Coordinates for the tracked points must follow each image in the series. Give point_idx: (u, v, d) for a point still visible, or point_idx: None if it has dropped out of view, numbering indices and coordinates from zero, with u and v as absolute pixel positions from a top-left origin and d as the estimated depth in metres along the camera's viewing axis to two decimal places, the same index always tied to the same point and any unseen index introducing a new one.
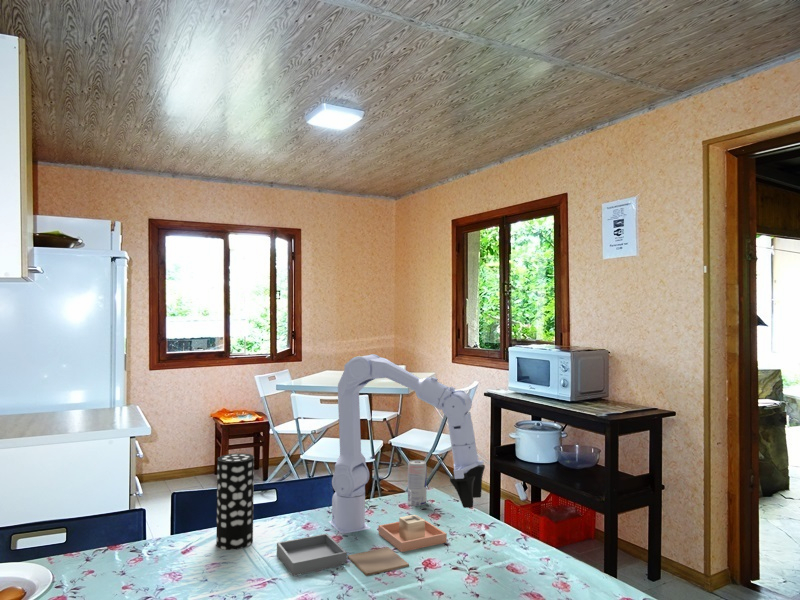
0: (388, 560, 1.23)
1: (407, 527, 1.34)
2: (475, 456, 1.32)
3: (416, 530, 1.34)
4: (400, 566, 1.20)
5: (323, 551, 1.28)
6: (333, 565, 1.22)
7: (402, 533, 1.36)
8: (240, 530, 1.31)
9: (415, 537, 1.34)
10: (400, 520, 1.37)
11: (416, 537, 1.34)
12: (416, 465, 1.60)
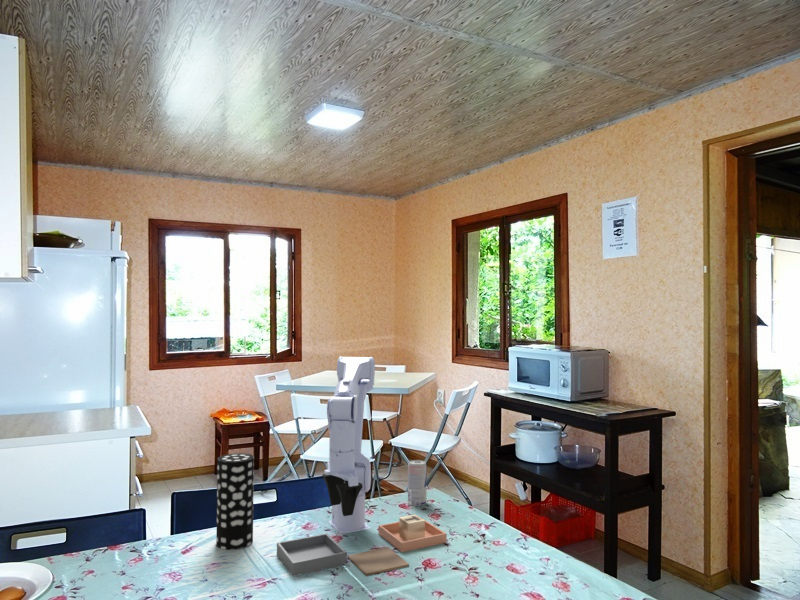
0: (388, 560, 1.23)
1: (407, 527, 1.34)
2: (329, 463, 1.29)
3: (416, 530, 1.34)
4: (400, 566, 1.20)
5: (323, 551, 1.28)
6: (333, 565, 1.22)
7: (402, 533, 1.36)
8: (240, 530, 1.31)
9: (415, 537, 1.34)
10: (400, 520, 1.37)
11: (416, 537, 1.34)
12: (416, 465, 1.60)
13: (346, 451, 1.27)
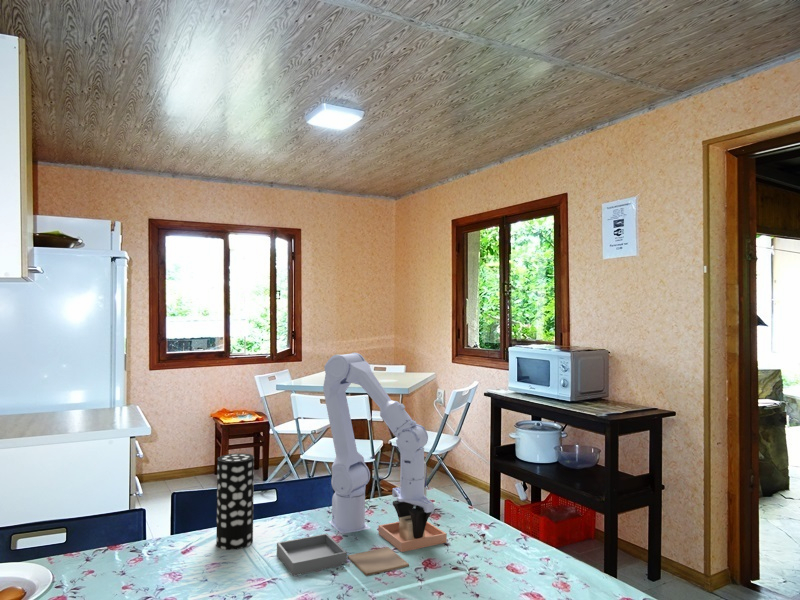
0: (388, 560, 1.23)
1: (407, 527, 1.34)
2: (400, 490, 1.36)
3: None
4: (400, 566, 1.20)
5: (323, 551, 1.28)
6: (333, 565, 1.22)
7: (402, 533, 1.36)
8: (240, 530, 1.31)
9: None
10: (400, 520, 1.37)
11: None
12: None
13: (418, 479, 1.34)
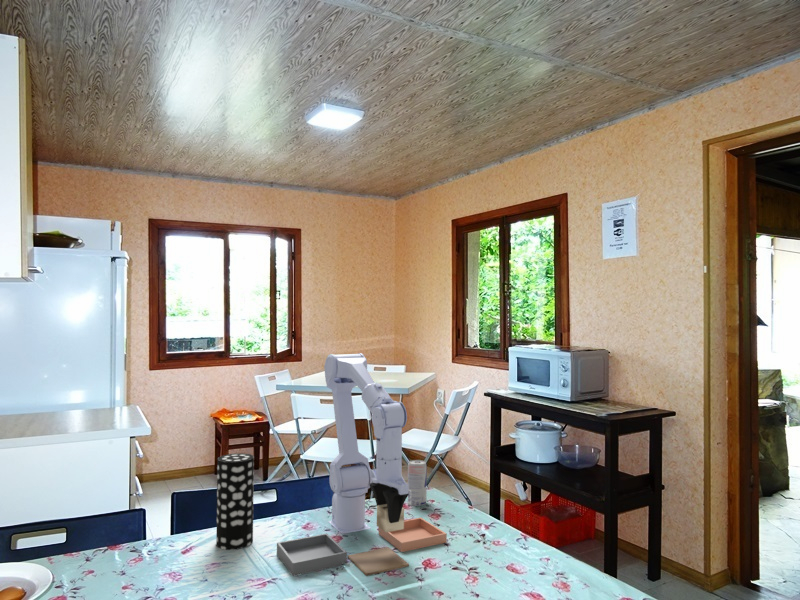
0: (388, 560, 1.23)
1: (385, 515, 1.25)
2: (376, 471, 1.27)
3: None
4: (400, 566, 1.20)
5: (323, 551, 1.28)
6: (333, 565, 1.22)
7: (380, 522, 1.27)
8: (240, 530, 1.31)
9: (393, 527, 1.25)
10: (378, 508, 1.28)
11: (394, 526, 1.25)
12: (416, 465, 1.60)
13: (394, 459, 1.25)
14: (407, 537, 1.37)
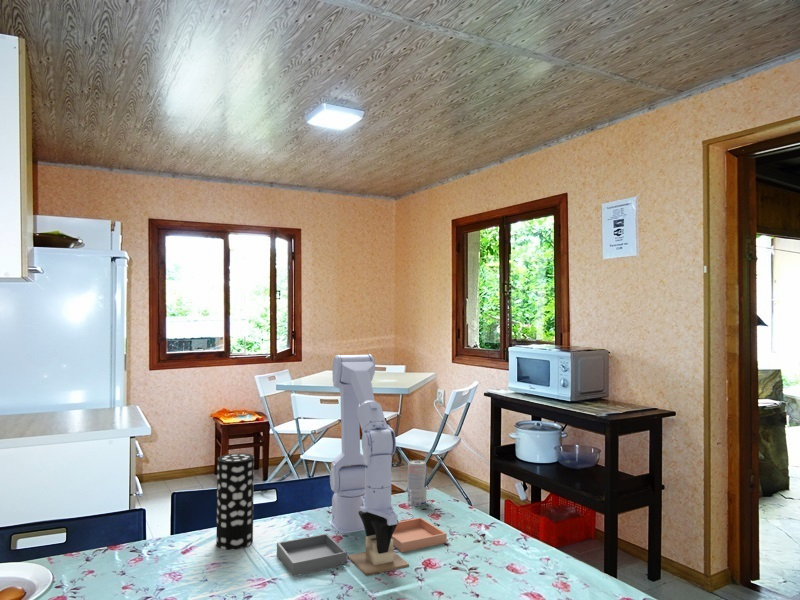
0: None
1: (373, 548, 1.21)
2: (365, 499, 1.23)
3: None
4: (400, 566, 1.20)
5: (323, 551, 1.28)
6: (333, 565, 1.22)
7: (368, 554, 1.23)
8: (240, 530, 1.31)
9: (382, 559, 1.21)
10: (366, 540, 1.24)
11: (383, 559, 1.21)
12: (416, 465, 1.60)
13: (383, 487, 1.21)
14: (407, 537, 1.37)
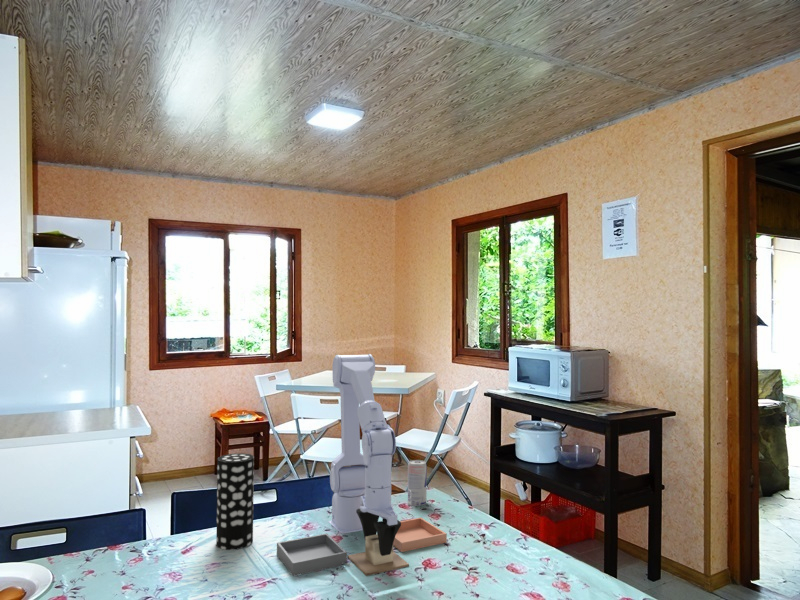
0: None
1: (373, 548, 1.21)
2: (365, 499, 1.23)
3: None
4: (400, 566, 1.20)
5: (323, 551, 1.28)
6: (333, 565, 1.22)
7: (368, 554, 1.23)
8: (240, 530, 1.31)
9: (381, 559, 1.21)
10: (366, 539, 1.24)
11: (383, 559, 1.21)
12: (416, 465, 1.60)
13: (383, 487, 1.21)
14: (407, 537, 1.37)
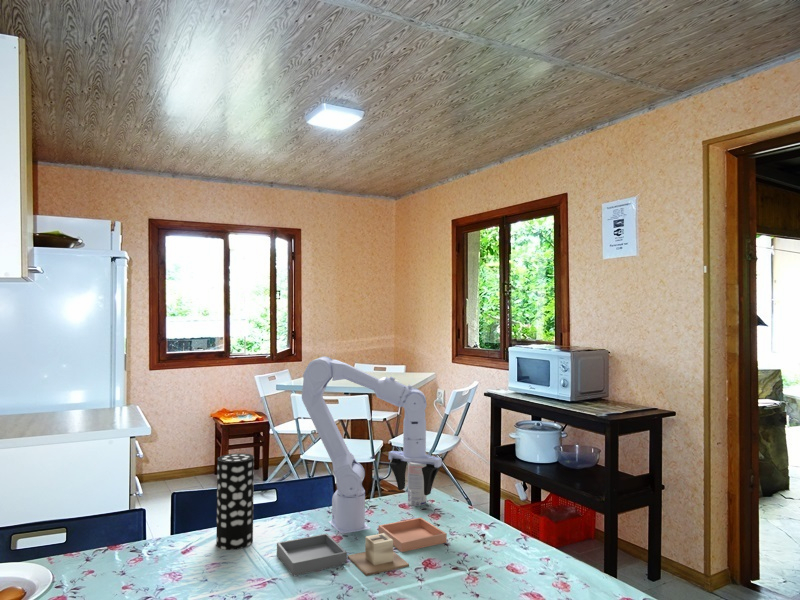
0: None
1: (373, 548, 1.21)
2: (406, 451, 1.42)
3: (384, 550, 1.22)
4: (400, 566, 1.20)
5: (323, 551, 1.28)
6: (333, 565, 1.22)
7: (368, 554, 1.23)
8: (240, 530, 1.31)
9: (381, 559, 1.21)
10: (366, 539, 1.24)
11: (383, 559, 1.21)
12: (416, 465, 1.60)
13: (424, 438, 1.43)
14: (407, 537, 1.37)
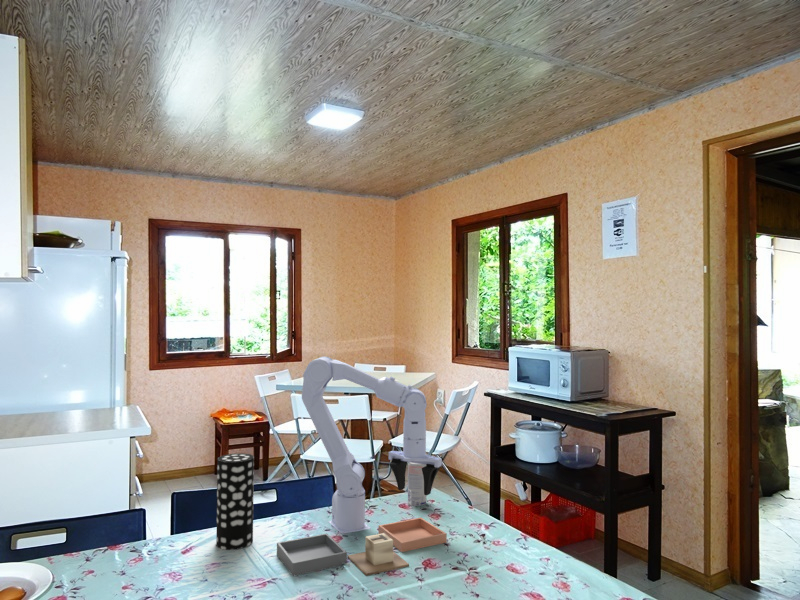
0: None
1: (373, 548, 1.21)
2: (406, 451, 1.42)
3: (384, 550, 1.22)
4: (400, 566, 1.20)
5: (323, 551, 1.28)
6: (333, 565, 1.22)
7: (368, 554, 1.23)
8: (240, 530, 1.31)
9: (381, 559, 1.21)
10: (366, 539, 1.24)
11: (383, 559, 1.21)
12: (416, 465, 1.60)
13: (424, 438, 1.43)
14: (407, 537, 1.37)
